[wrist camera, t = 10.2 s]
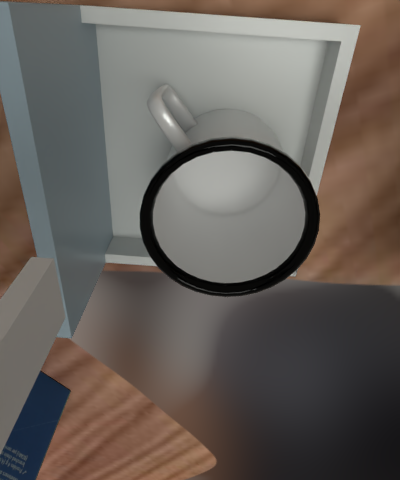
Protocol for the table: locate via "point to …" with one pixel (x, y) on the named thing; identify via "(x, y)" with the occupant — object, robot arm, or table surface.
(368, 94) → the table surface
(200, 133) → the mug
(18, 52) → the tray
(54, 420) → the protein box
